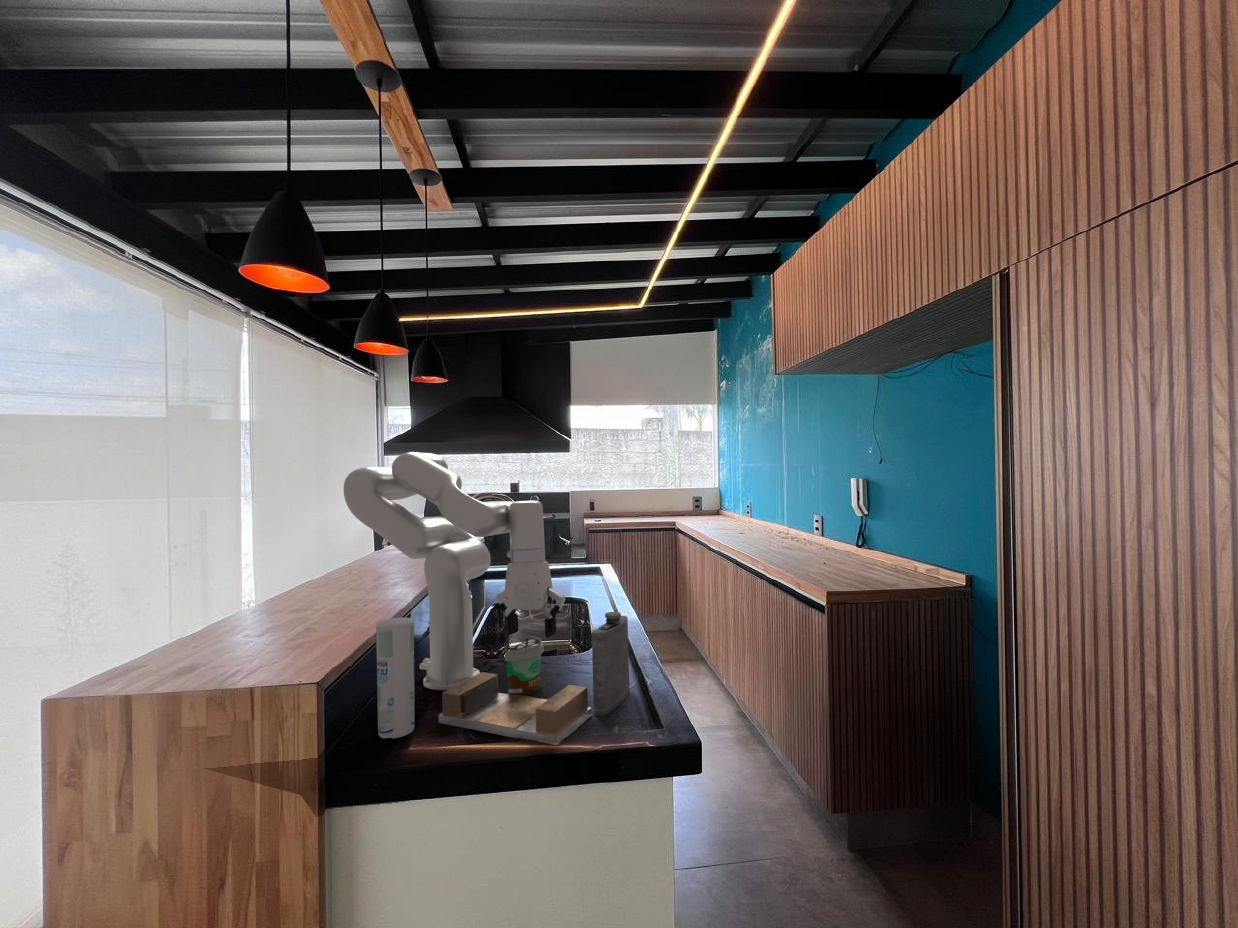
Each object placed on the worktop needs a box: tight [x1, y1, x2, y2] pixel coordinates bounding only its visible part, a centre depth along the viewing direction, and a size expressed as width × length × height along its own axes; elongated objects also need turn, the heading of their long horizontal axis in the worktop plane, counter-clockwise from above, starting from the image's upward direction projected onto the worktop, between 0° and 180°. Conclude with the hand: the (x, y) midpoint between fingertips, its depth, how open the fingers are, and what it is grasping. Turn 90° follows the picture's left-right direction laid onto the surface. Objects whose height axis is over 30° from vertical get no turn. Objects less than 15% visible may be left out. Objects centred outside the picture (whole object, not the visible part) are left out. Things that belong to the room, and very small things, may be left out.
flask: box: [591, 611, 631, 717], centre depth 111 cm, size 4×14×18 cm, turn 158°
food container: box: [504, 635, 545, 696], centre depth 119 cm, size 12×6×10 cm, turn 168°
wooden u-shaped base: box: [438, 671, 592, 743], centre depth 103 cm, size 26×13×6 cm, turn 66°
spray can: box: [375, 617, 415, 740], centre depth 100 cm, size 6×6×20 cm
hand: (531, 634), depth 119 cm, fingers open, 9 cm apart
